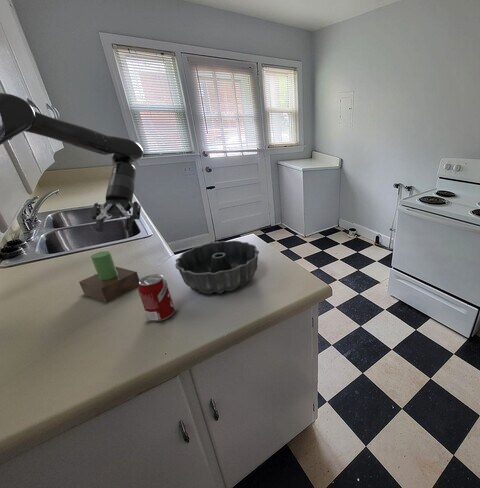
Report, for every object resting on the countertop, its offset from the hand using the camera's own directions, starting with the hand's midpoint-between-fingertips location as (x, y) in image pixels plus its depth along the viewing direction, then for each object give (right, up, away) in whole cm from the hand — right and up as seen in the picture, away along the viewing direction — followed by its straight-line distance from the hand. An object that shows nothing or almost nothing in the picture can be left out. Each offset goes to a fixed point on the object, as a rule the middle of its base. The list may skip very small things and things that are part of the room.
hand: (113, 230), depth 91 cm
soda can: (+25, -25, -14) cm, 38 cm away
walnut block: (+1, -20, -2) cm, 20 cm away
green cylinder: (+1, -15, -3) cm, 15 cm away
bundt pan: (+36, -17, +4) cm, 40 cm away
